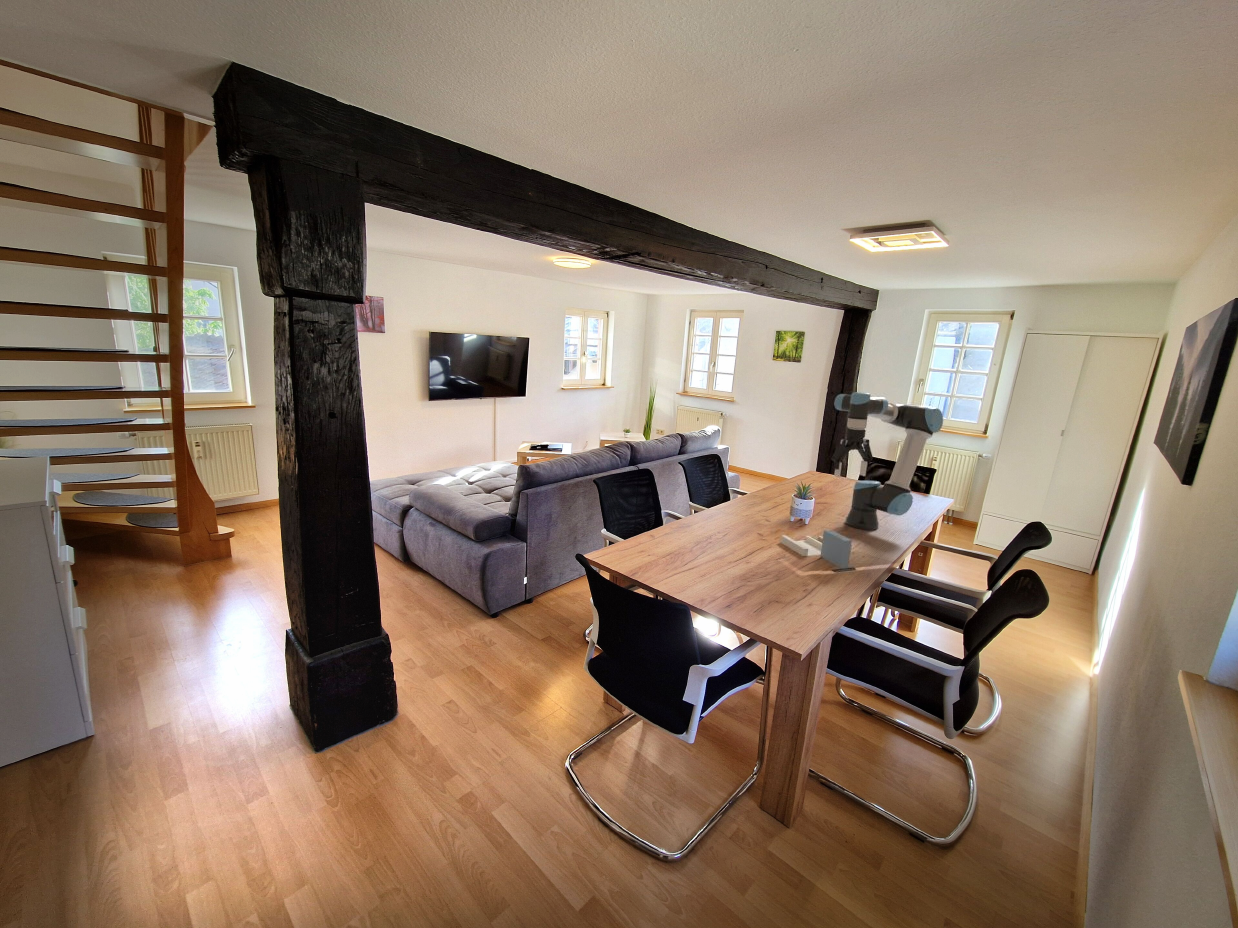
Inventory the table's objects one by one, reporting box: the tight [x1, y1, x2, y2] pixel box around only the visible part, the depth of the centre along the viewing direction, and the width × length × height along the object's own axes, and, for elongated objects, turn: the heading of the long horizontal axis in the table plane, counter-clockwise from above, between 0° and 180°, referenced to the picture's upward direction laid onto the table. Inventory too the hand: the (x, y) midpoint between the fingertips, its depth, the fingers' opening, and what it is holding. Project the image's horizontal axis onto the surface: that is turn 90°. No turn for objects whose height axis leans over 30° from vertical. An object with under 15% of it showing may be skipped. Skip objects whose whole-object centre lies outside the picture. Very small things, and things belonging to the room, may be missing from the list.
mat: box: [831, 567, 857, 574], centre depth 199 cm, size 10×14×1 cm
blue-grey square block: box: [820, 529, 853, 569], centre depth 198 cm, size 4×12×12 cm, turn 16°
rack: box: [780, 531, 853, 557], centre depth 214 cm, size 24×16×4 cm, turn 106°
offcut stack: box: [812, 535, 823, 543], centre depth 216 cm, size 6×14×3 cm, turn 16°
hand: (849, 476), depth 216 cm, fingers open, 13 cm apart
